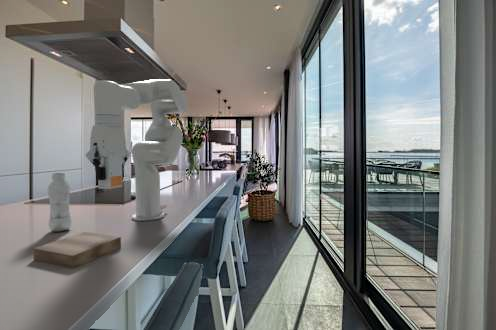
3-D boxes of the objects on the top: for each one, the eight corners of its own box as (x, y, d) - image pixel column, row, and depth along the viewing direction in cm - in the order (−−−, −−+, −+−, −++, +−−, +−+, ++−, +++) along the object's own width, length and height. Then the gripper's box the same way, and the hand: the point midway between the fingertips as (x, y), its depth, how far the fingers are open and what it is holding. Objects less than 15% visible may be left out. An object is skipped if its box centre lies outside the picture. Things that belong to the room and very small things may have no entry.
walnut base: (85, 241, 78) (84, 231, 78) (120, 247, 73) (120, 237, 73) (33, 259, 65) (33, 248, 65) (73, 268, 60) (72, 255, 60)
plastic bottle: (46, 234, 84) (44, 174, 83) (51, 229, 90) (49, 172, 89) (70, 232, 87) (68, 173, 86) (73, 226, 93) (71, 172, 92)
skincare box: (110, 189, 78) (108, 150, 78) (98, 189, 79) (96, 150, 78) (123, 186, 84) (122, 150, 84) (112, 186, 85) (110, 150, 84)
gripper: (121, 124, 90) (122, 175, 91) (73, 119, 73) (76, 181, 75) (138, 124, 87) (139, 176, 88) (92, 118, 71) (95, 182, 72)
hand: (110, 178), depth 82 cm, fingers closed on skincare box, 6 cm apart
